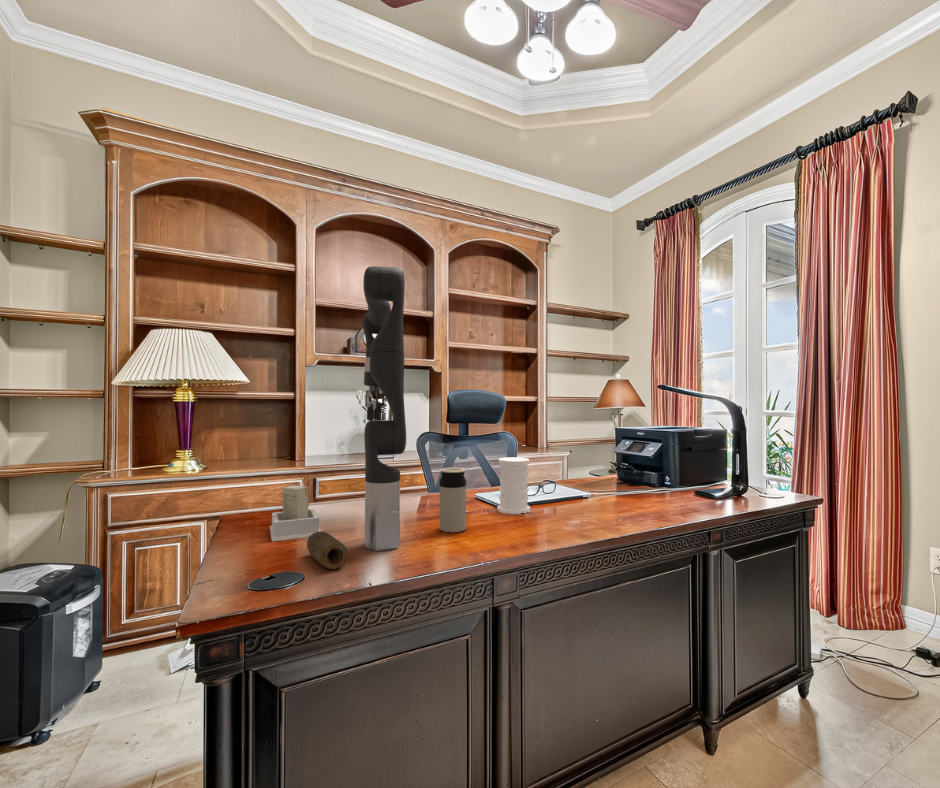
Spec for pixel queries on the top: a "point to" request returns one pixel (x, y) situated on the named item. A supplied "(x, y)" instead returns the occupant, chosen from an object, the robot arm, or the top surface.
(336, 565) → the brown hollow cylinder
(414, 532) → the top surface
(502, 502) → the decorative container
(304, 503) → the skincare box
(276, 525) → the bottle stand
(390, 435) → the robot arm
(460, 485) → the travel mug
